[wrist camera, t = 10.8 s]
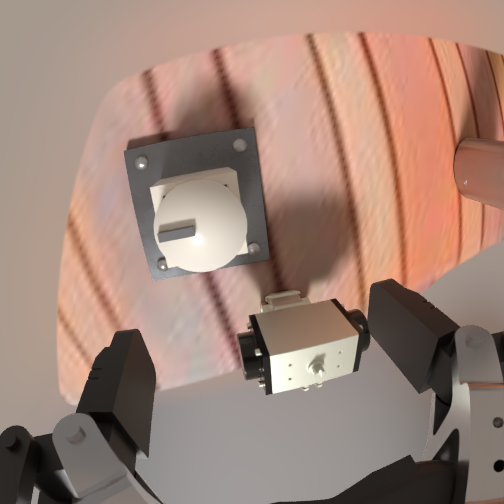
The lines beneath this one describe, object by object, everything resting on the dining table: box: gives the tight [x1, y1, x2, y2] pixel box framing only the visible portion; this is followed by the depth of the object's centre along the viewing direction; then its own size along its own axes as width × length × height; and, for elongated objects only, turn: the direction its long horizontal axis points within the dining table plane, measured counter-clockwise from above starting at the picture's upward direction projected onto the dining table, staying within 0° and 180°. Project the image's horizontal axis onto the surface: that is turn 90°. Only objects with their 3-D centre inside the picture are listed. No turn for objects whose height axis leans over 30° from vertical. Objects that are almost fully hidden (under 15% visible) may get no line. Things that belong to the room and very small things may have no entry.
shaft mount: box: [124, 127, 270, 281], centre depth 24 cm, size 12×13×6 cm
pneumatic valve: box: [237, 289, 370, 395], centre depth 27 cm, size 6×12×12 cm, turn 95°
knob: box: [150, 167, 248, 272], centre depth 22 cm, size 6×6×8 cm
